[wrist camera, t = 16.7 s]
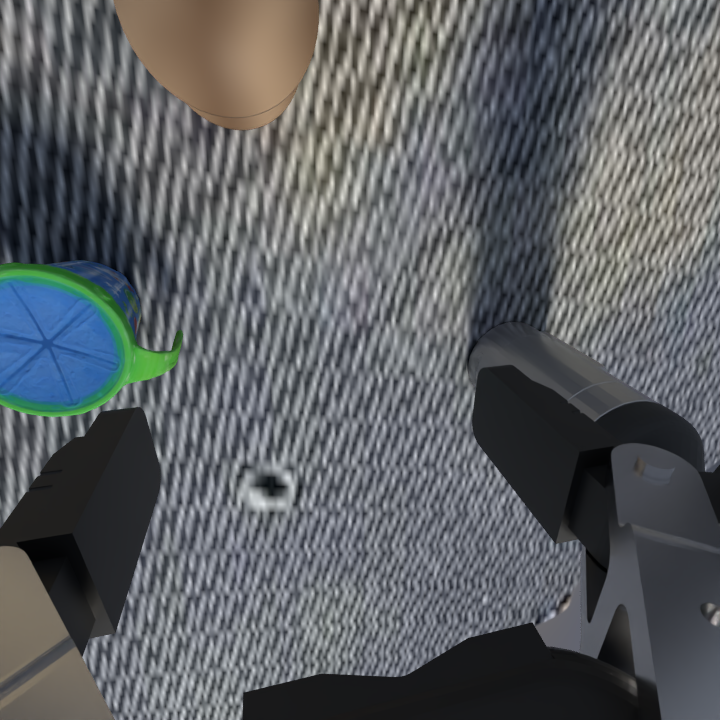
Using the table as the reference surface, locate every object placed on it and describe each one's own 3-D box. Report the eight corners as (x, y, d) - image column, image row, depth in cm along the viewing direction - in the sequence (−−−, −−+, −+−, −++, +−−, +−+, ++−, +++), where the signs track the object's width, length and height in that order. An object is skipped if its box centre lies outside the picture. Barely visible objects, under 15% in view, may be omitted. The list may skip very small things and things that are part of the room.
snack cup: (208, 286, 37) (191, 325, 28) (168, 383, 40) (141, 446, 31) (3, 199, 32) (-100, 214, 23) (-26, 320, 35) (-127, 375, 26)
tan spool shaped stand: (295, -31, 30) (312, -126, 20) (305, 129, 34) (323, 116, 24) (144, -41, 28) (81, -151, 18) (175, 130, 32) (137, 116, 22)
